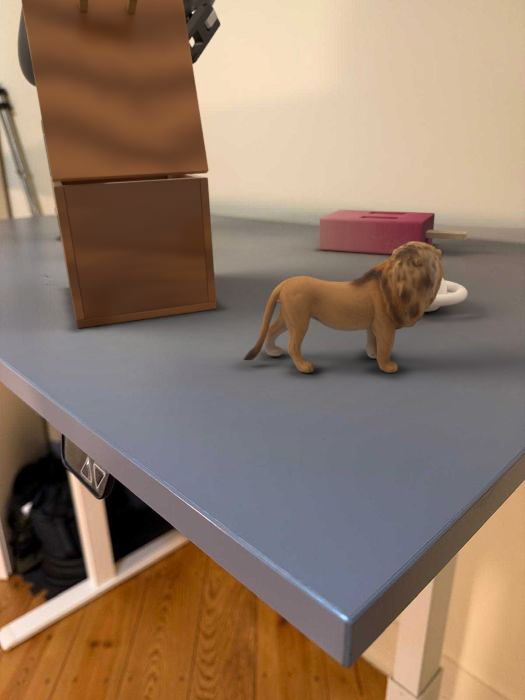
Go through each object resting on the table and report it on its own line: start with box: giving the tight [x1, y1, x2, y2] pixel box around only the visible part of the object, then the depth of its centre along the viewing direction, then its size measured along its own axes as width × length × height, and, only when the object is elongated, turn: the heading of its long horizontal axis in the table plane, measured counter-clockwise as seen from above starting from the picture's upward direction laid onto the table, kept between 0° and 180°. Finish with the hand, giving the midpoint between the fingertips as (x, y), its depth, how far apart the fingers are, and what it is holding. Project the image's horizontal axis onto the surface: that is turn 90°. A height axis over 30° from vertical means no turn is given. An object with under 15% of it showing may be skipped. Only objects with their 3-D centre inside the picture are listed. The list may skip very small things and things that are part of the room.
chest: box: [50, 174, 217, 329], centre depth 57 cm, size 16×14×13 cm
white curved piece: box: [424, 276, 468, 313], centre depth 52 cm, size 8×6×8 cm
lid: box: [20, 0, 209, 182], centre depth 45 cm, size 16×14×6 cm
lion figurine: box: [242, 241, 444, 374], centre depth 40 cm, size 15×5×9 cm, turn 93°
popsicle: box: [318, 209, 468, 256], centre depth 79 cm, size 9×5×20 cm
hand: (125, 91), depth 54 cm, fingers closed on pill bottle, 5 cm apart
